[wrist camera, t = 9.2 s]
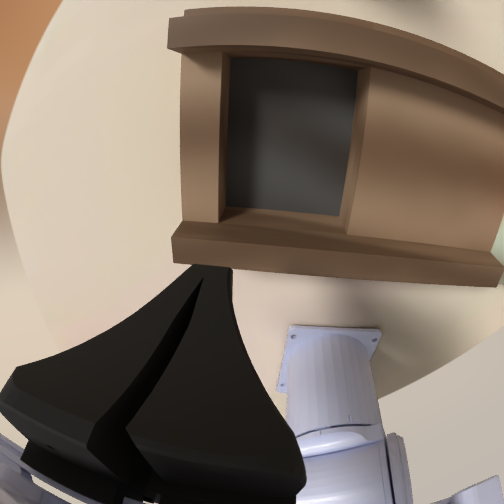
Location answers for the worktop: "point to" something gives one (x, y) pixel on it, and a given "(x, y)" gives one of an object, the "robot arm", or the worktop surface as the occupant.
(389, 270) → the chute
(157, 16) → the worktop surface
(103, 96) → the worktop surface
